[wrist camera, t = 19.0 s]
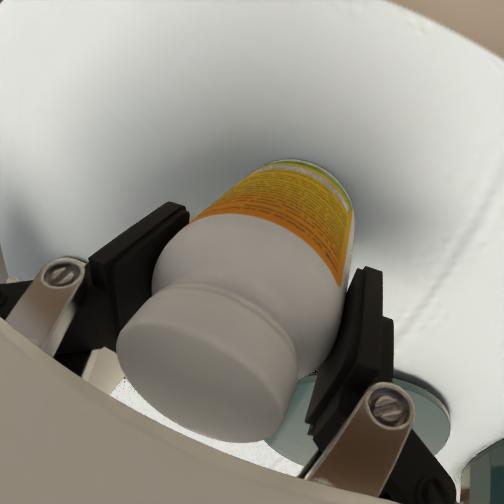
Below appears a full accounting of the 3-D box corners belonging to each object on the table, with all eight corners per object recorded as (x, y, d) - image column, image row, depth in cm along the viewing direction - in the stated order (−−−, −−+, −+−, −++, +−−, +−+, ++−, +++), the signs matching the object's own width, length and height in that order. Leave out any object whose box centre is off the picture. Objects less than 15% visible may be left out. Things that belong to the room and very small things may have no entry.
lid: (246, 435, 26) (222, 486, 22) (286, 333, 18) (253, 413, 14) (388, 476, 23) (378, 526, 19) (489, 395, 15) (496, 469, 11)
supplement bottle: (226, 163, 14) (55, 280, 6) (350, 152, 12) (309, 296, 4) (249, 269, 16) (143, 429, 8) (358, 269, 14) (322, 471, 6)
